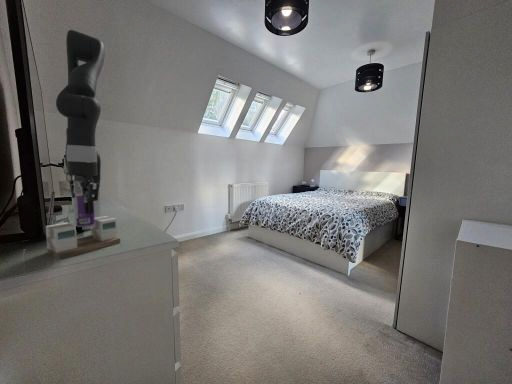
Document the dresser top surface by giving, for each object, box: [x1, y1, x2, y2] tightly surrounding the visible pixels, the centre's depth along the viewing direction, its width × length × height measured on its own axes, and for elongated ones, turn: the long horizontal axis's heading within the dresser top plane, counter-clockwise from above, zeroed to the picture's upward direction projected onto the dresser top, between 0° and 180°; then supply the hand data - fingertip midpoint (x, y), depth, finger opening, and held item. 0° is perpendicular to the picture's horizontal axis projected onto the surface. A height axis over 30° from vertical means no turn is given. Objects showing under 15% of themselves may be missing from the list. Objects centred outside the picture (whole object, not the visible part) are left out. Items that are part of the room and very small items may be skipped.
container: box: [75, 180, 95, 227], centre depth 70 cm, size 5×5×15 cm
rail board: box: [45, 215, 121, 260], centre depth 71 cm, size 9×17×8 cm, turn 152°
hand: (85, 212), depth 71 cm, fingers closed on container, 4 cm apart
